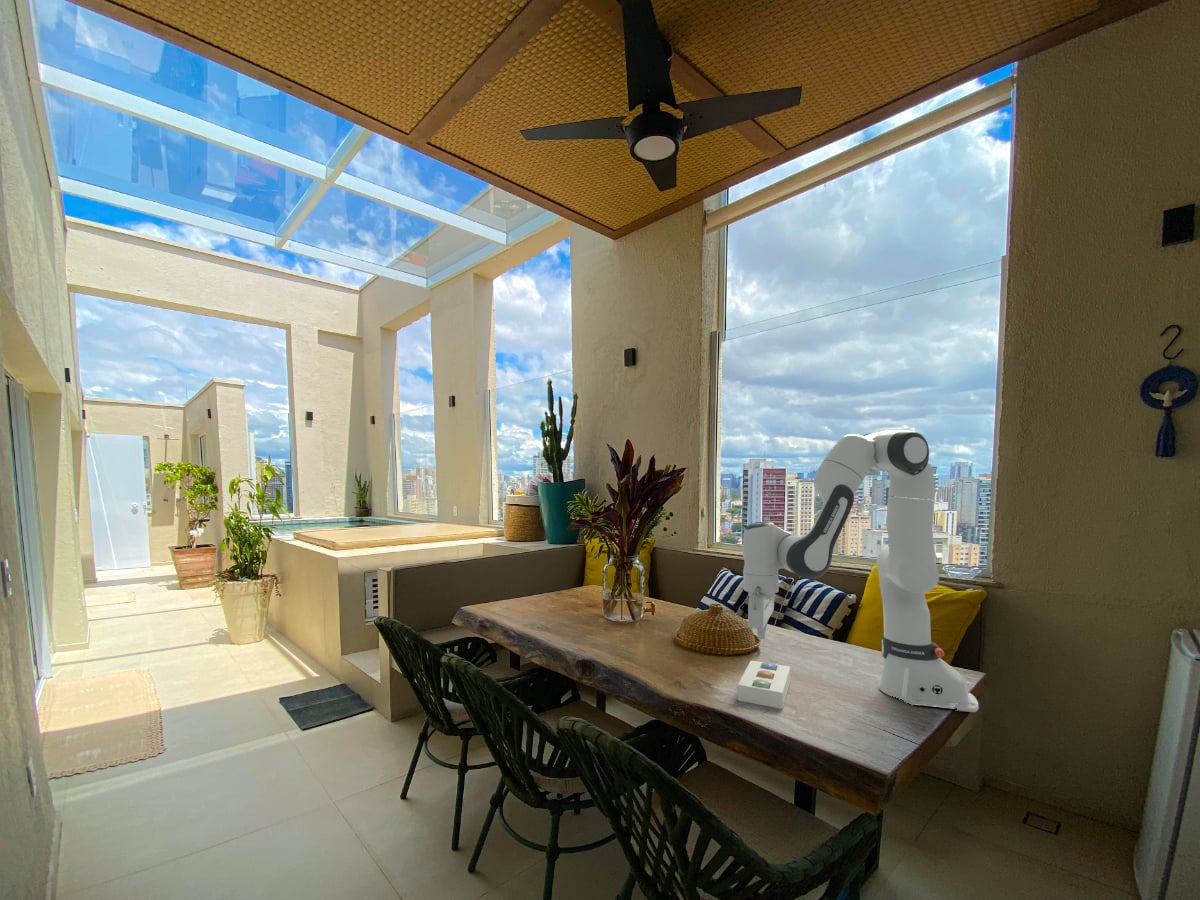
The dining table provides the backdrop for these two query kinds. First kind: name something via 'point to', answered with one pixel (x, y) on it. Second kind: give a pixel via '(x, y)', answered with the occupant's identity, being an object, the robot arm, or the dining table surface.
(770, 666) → the blue button
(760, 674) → the terracotta button
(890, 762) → the dining table surface
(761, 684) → the sage button
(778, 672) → the button console
